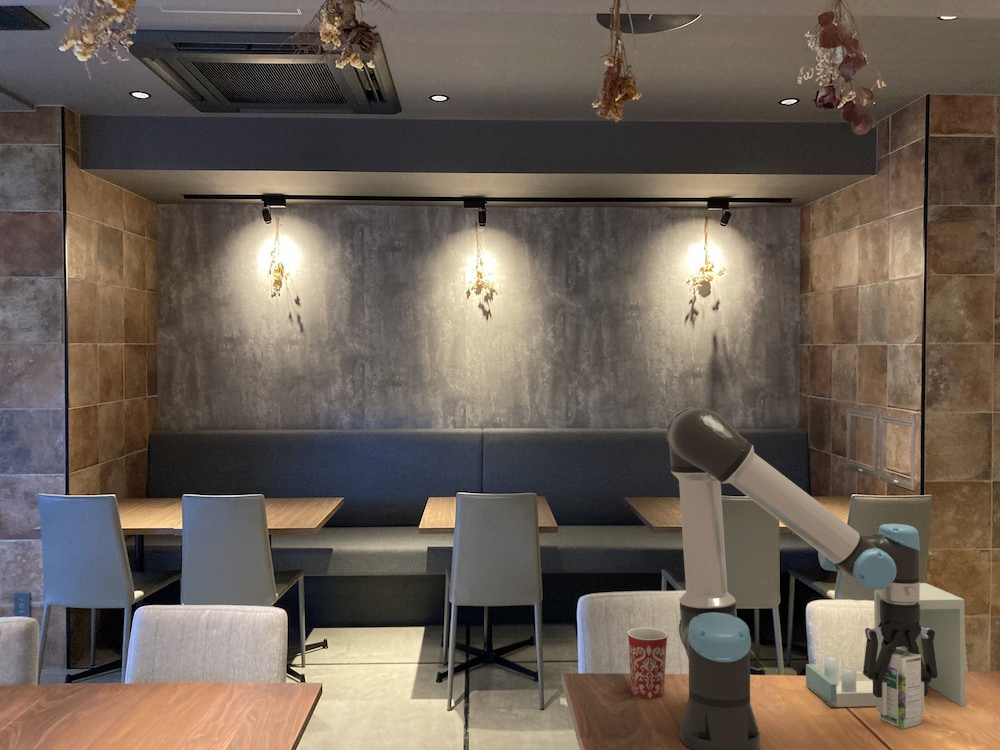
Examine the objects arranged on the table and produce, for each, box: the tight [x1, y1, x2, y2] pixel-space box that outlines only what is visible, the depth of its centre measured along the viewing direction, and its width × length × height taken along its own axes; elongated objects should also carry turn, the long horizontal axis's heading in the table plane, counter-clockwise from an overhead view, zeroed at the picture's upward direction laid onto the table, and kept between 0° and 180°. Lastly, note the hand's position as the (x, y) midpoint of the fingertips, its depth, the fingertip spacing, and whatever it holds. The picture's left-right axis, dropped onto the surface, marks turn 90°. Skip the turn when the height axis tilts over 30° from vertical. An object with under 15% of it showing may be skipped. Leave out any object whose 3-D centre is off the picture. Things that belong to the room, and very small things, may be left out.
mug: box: [627, 627, 669, 699], centre depth 192 cm, size 13×9×14 cm
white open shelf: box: [873, 582, 966, 707], centre depth 189 cm, size 12×15×23 cm
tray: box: [805, 654, 877, 708], centre depth 188 cm, size 16×13×7 cm
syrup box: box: [879, 647, 922, 730], centre depth 173 cm, size 6×6×14 cm
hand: (900, 711), depth 173 cm, fingers closed on syrup box, 7 cm apart
